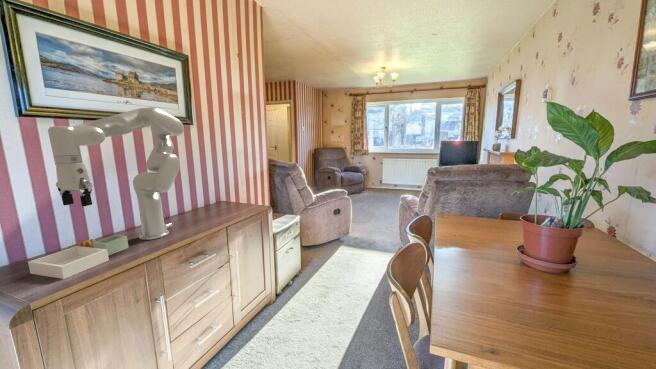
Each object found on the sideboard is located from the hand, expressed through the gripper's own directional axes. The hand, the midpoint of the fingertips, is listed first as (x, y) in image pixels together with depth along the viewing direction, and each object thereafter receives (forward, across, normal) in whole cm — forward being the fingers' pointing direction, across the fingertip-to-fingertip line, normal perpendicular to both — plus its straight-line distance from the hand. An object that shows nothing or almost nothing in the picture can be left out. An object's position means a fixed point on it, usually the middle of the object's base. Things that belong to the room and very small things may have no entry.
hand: (77, 205), depth 103 cm
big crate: (+23, +1, +6) cm, 23 cm away
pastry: (+23, +16, -9) cm, 30 cm away
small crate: (+23, +1, -9) cm, 25 cm away
